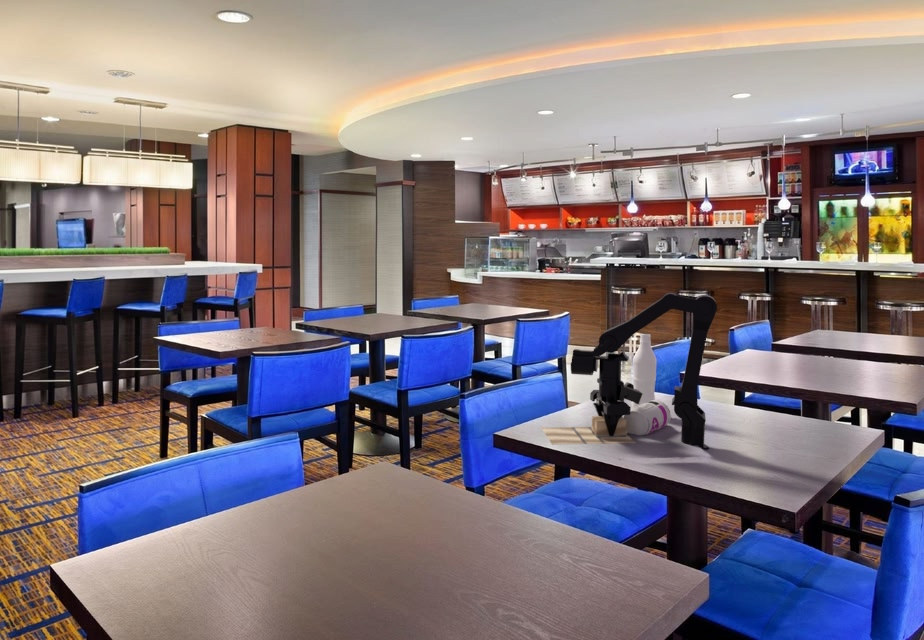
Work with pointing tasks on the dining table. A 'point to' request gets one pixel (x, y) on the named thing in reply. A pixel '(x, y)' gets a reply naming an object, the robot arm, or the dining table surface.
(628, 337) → the robot arm
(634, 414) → the supplement can
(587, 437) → the board
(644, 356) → the water bottle
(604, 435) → the block
